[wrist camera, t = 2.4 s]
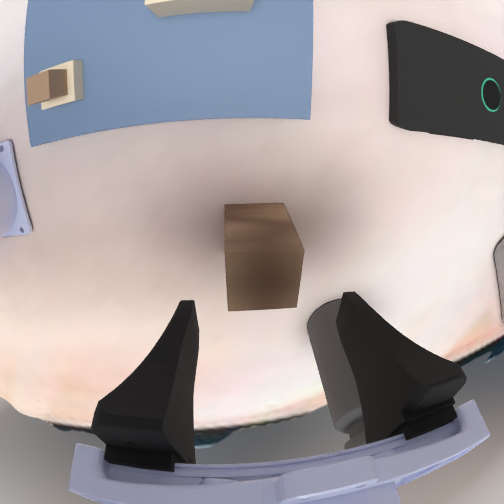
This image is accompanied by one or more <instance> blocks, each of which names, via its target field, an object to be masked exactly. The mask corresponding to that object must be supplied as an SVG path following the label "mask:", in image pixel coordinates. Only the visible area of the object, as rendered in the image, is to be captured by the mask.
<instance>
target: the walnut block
mask: <svg viewBox="0 0 504 504" xmlns="http://www.w3.org/2000/svg"><path fill="white" fill-rule="evenodd" d="M303 256H304V248H303V245H302V243H301V241H300V239H299V236H298V234H297V232H296V230H295V227H294V225H293V223H292V221H291V218H290V216H289V214H288V212H287V210H286V208H285V205H284V203H264V204H227V205H225V266H226V284H227V301H228V311H245V310H264V309H281V308H295V307H297V301H298V294H299V287H300V279H301V272H302V264H303Z"/></svg>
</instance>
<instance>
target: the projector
mask: <svg viewBox="0 0 504 504" xmlns="http://www.w3.org/2000/svg"><path fill="white" fill-rule="evenodd" d="M494 258H495V263H496V269H497V275H498V282H499V290H500V298H501V309H502V321H503V323H504V239H503V240H502V241H501V242H500V243H499V244H498V245H497V247H496V250H495V254H494Z"/></svg>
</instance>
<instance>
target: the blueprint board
mask: <svg viewBox="0 0 504 504" xmlns="http://www.w3.org/2000/svg"><path fill="white" fill-rule="evenodd" d="M312 60H313V0H28V7H27V15H26V26H25V43H24V83H25V100H26V112H27V121H28V129H29V137H30V143H31V147H34V146H38V145H41V144H45V143H49V142H53V141H57V140H61V139H65V138H69V137H74V136H79V135H83V134H88V133H93V132H99V131H104V130H110V129H116V128H122V127H129V126H136V125H144V124H152V123H161V122H171V121H183V120H197V119H217V118H287V119H306V120H310V112H311V90H312Z"/></svg>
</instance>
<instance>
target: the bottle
mask: <svg viewBox="0 0 504 504" xmlns="http://www.w3.org/2000/svg"><path fill="white" fill-rule="evenodd" d="M341 300H342V299H339V300H335V301H332V302H329V303H327V304H325V305H323V306H321V307H320V308H318V309H317V310H316V311H315V312H314V313H313V315H312V316H311V317H310V319H309V321H308V325H307V330H308V334H309V338H310V342H311V345H312V349H313V352H314V356H315V360H316V363H317V367H318V370H319V374H320V377H321V381H322V385H323V388H324V392H325V396H326V399H327V403H328V406H329V410H330V414H331V417H332V421H333V424H334V427H335V429H336V430H338V431H340V432H342V433H347V434H349V436H350V440H349V441H347V442H346V444H345V450H346V449H350V448H355V447H359V446H363V445H366V438H365V428H364V421H363V414H362V408H361V403H360V398H359V393H358V389H357V385H356V381H355V378H354V375H353V372H352V369H351V367H350V364H349V362H348V359H347V356H346V354H345V351H344V349H343V346H342V343H341V341H340V338H339V334H338V330H337V325H336V318H337V315H338V311H339V307H340V304H341Z"/></svg>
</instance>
